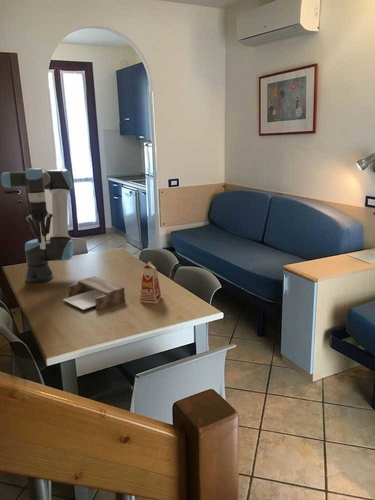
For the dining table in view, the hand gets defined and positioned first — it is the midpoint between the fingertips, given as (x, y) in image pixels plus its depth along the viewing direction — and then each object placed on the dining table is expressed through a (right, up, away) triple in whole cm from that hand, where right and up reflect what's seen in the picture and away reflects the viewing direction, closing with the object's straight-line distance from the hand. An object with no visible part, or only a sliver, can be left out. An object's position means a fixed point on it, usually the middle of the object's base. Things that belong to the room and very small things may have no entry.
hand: (42, 248), depth 203 cm
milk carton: (+53, -26, +3) cm, 59 cm away
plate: (+23, -27, +1) cm, 35 cm away
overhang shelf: (+25, -25, +5) cm, 36 cm away
